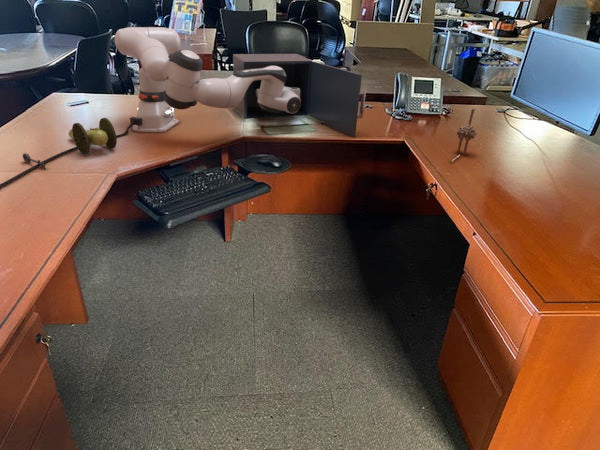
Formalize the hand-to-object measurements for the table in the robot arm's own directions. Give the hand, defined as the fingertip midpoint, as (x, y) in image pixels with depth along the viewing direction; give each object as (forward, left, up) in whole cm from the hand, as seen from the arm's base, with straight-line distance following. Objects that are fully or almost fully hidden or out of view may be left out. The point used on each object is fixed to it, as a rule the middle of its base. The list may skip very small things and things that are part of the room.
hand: (272, 89), depth 212 cm
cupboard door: (-14, -30, -12) cm, 35 cm away
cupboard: (+2, +1, -12) cm, 12 cm away
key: (-75, +77, -12) cm, 108 cm away
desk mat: (-19, -7, -12) cm, 23 cm away
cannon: (-55, +67, -12) cm, 87 cm away
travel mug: (+22, -35, -12) cm, 44 cm away
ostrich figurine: (-49, -76, -12) cm, 91 cm away
